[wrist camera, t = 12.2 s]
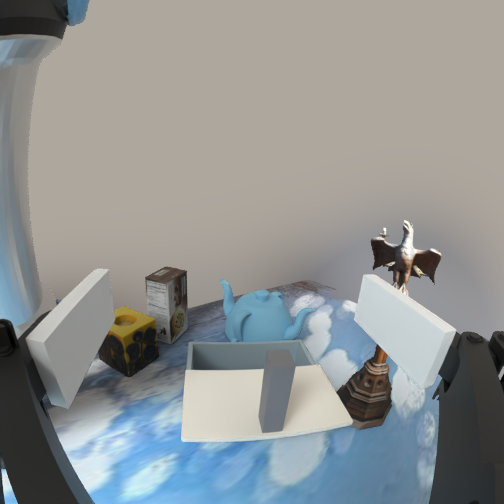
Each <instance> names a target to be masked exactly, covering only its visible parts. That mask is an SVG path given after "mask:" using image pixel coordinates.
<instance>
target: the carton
mask: <svg viewBox="0 0 504 504" xmlns="http://www.w3.org/2000/svg"><path fill="white" fill-rule="evenodd" d="M270 350H289V352H290V354H291V356H292V358H293V360H294V362H295V365H296V367H298V366H309V365H316V364H315V362H314V360H313V359H312V357H311V355H310V353H309V352H308V350H307V348H306V346H305V345H304V343H303V341H302V339H301V340H284V341H260V342H189V344H188V355H187V367H186V370H252V369H264V364H265V355H266V351H270Z"/></svg>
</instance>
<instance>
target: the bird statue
mask: <svg viewBox="0 0 504 504" xmlns="http://www.w3.org/2000/svg"><path fill="white" fill-rule="evenodd" d="M403 230H404V238H403V240H402V244H401V245H395V244H391V243H389V242H387V241H385V237H386V236H389V235H387V234H386V227H384V230H383V234H381V233H380V234H379V235H381V236H382V237H374V238H372V240H371V246H372V250H373V253H374V254H373V255H374V260H375V262H374V266H373V270H374V269H375V268H377V267H380V266H381V265H383V266H387V267H388V266H389V269H388V271H393V274H394V275H393V281H394V283H393V284H392V286H393V287H395V288H396V289H398V290H399V291H401V292H402V293H404V294H405V295H407V296H408V292H407V288H406V287H405V286H406V284H407V282H408V280H409V277H410V276H415V277H419V278H420V277H421V275H424V276H429V277H430V279H431V280H432V282H433V283H435V282H434V274H435V271H436V268H437V266H438V264H439V262H440V260H441V254H440V251H438V250H435V249H429V250H426V251H422V250H417V249H415V248H414V247H413V244H412V243H413V233H414V228H413V225H412V223H410V222H408V221H406V220H404V224H403ZM394 261H395V263H394ZM414 265H416V266H418V268H415V266H414ZM386 358H387V353H386V352H385V351H384V350H383V349H382V348H381V347H380V346H379V345H378V344H377V347H376V351H375V355H374V357H372V358H371V359H369V360H367V361H366V362H365V363H364V367H363V368H362V369H361V370H360V371H358V372H356V373H355V374H353V375H352V377H351V378H350V379H349V381H348V382H347V383H346V385H342V387H341V388H340V389H339V390H338V391H337V392H336V393H337V395H338V396H339V398H340V400H341V401H342V403H343V405H344V406H345V408H346V410H347V411H348V413H349V415H350V417H351V418H352V420H353V423H352V425H350V426H352V427H354V428H357V429H359V430H361V429H366V428H371V427H375V426H380V425H382V424H383V422H384V420H385V418H386V416H387V414H388V412H389V410H390V408H391V406H392V404H391V402H392V400H391V399H390V398H391V397H390V394H391V390H392V388H391V383H390V382H389V377H388V372H389V366H388V364H386Z"/></svg>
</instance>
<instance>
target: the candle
mask: <svg viewBox="0 0 504 504" xmlns="http://www.w3.org/2000/svg"><path fill="white" fill-rule="evenodd" d="M114 314H115V321H114V323H113V325H112V326H111V328H110V330H109V332H108V334H107V335H106V337H105V339H104V341H103V343H102V344H101V346H100V348H99V350H98V353H99V358H100V360H102V361H103V362H105V363H106V364H108V365H109V366H111V367H112V368H115V369H116V370H118V371H120V372H122V373H123V374H125V375H126V376H128V377H131V376H132V375H134V374H135V373H137V372H138V371H139V370H141V369H143V368H144V367H145V366H147V365H148V364H149V363H151V362H152V361H153V360H155V359H157V358H158V357H159V354H158V346H157V338H156V321H155V318H153V317H150V316H147V315H144V314H142V313H140V312H137V311H134V310H132V309H130V308H128V307H126V306H124V307H121V308H119V309H117V310H115V311H114Z"/></svg>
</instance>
